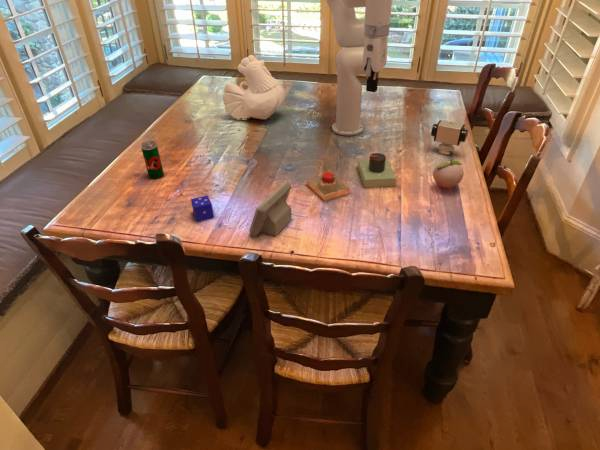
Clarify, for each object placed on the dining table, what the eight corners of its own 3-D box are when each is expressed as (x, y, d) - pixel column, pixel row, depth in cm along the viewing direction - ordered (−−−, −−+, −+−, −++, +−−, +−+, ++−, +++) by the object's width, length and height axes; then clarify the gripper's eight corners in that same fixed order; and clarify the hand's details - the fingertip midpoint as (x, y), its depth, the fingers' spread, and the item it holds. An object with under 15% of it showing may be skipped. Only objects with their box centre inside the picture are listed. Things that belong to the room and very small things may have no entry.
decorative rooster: (295, 98, 187) (261, 47, 181) (286, 105, 173) (248, 50, 167) (252, 129, 197) (219, 82, 192) (240, 138, 184) (203, 87, 178)
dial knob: (382, 164, 146) (384, 151, 143) (385, 172, 142) (387, 159, 139) (367, 165, 146) (368, 152, 143) (370, 173, 142) (371, 159, 139)
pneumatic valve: (460, 158, 155) (467, 127, 148) (427, 151, 159) (433, 121, 152) (463, 152, 159) (470, 121, 151) (431, 145, 163) (437, 115, 156)
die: (197, 221, 127) (194, 207, 124) (193, 212, 131) (190, 198, 128) (214, 217, 128) (211, 203, 125) (209, 208, 132) (207, 195, 129)
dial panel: (357, 167, 151) (358, 159, 149) (386, 166, 151) (387, 158, 149) (364, 187, 140) (365, 179, 138) (395, 186, 141) (396, 177, 139)
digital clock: (279, 206, 132) (278, 176, 126) (302, 217, 128) (302, 186, 121) (241, 231, 123) (237, 200, 116) (264, 244, 118) (261, 212, 111)
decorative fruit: (443, 198, 135) (449, 169, 129) (426, 185, 141) (431, 158, 135) (466, 190, 138) (473, 162, 132) (448, 178, 144) (454, 151, 138)
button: (320, 178, 138) (320, 173, 137) (329, 175, 140) (330, 171, 139) (326, 183, 136) (326, 178, 135) (335, 180, 137) (336, 176, 136)
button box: (307, 185, 142) (307, 174, 140) (330, 178, 145) (331, 167, 143) (324, 201, 134) (324, 190, 132) (348, 193, 138) (349, 182, 135)
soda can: (166, 173, 150) (159, 141, 143) (158, 180, 146) (150, 148, 139) (154, 171, 151) (146, 139, 144) (145, 178, 148) (137, 146, 140)
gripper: (380, 37, 123) (374, 100, 134) (396, 26, 133) (389, 85, 144) (355, 34, 126) (352, 96, 137) (372, 23, 136) (368, 82, 147)
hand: (371, 90), depth 140 cm, fingers closed
